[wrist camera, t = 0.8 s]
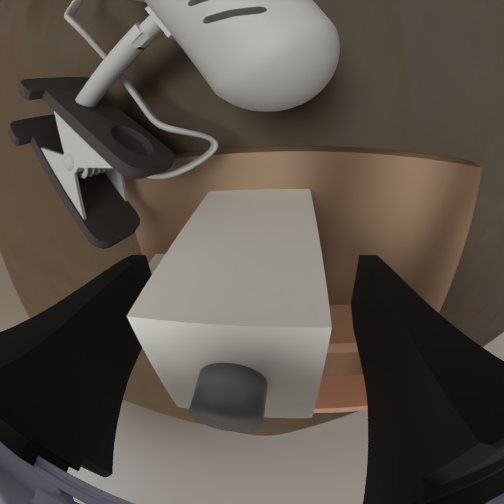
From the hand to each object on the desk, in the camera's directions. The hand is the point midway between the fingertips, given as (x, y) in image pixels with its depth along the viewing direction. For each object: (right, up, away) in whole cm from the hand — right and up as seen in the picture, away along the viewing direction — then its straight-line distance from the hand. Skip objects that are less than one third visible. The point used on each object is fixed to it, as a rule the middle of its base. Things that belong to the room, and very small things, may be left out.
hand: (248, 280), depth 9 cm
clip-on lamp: (-6, +12, -1) cm, 13 cm away
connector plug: (+1, +2, +3) cm, 3 cm away
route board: (+3, -1, +5) cm, 6 cm away
